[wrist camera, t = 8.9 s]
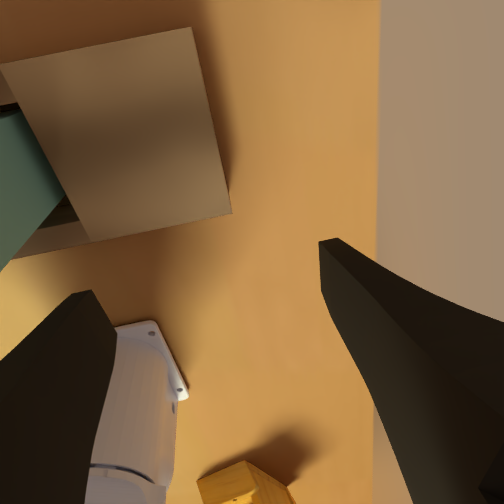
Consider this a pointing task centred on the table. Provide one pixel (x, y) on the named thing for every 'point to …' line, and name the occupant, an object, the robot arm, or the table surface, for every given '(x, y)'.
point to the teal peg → (23, 184)
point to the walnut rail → (121, 137)
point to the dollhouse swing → (243, 487)
